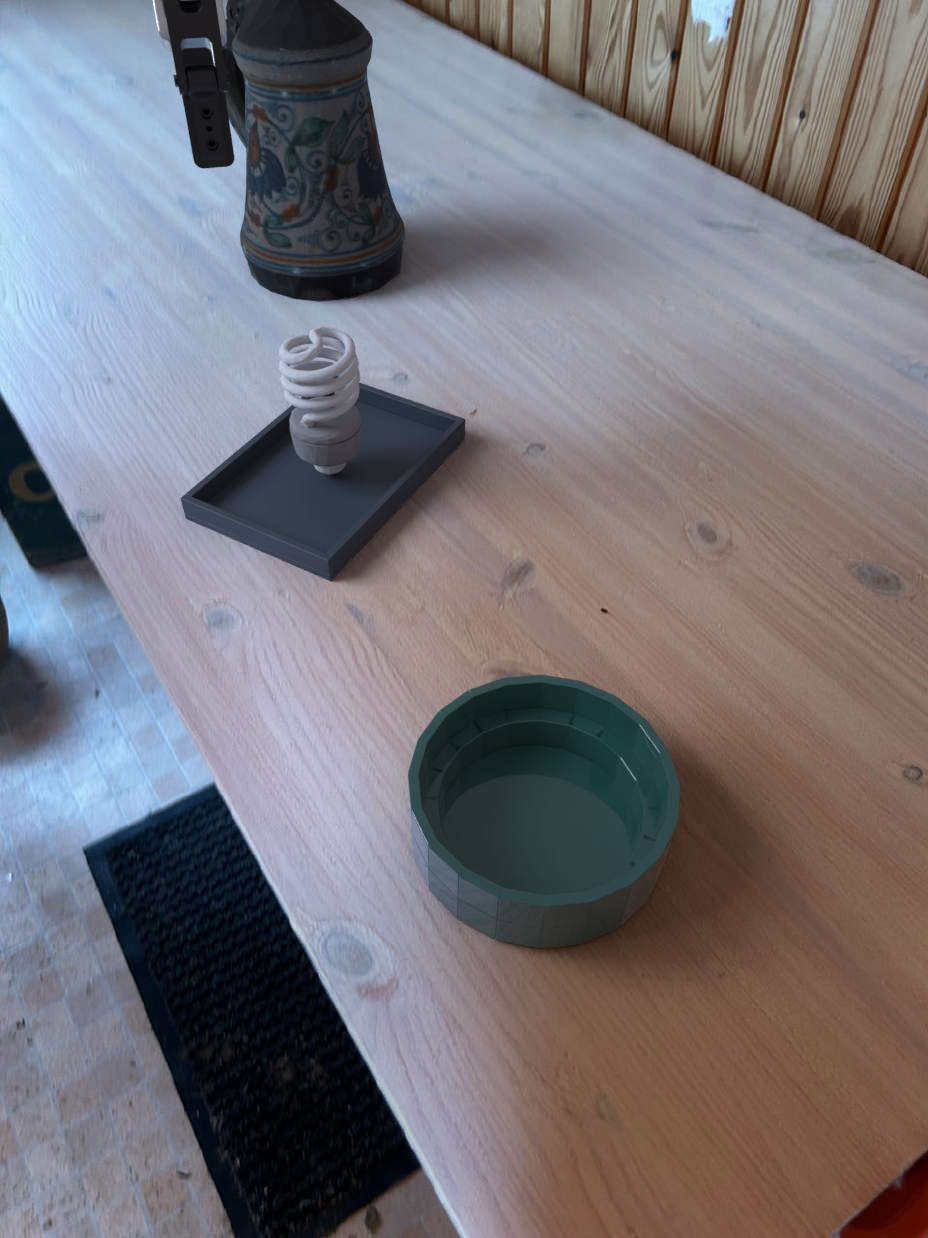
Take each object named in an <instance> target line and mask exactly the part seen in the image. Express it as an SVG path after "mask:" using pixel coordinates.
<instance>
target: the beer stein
mask: <svg viewBox="0 0 928 1238" xmlns="http://www.w3.org/2000/svg"><path fill="white" fill-rule="evenodd" d="M225 14H226V15H225V16H226V18H225V20H226V26H227V43H226V44H225V45H224V46H223V47H222V48H223V54H224V61H225V68H226V72H227V71H229V77H230V83H229V84H228V90H229V91H227V92H225V96H226V103H227V110H228V117H229V123H230V124H231V125H230V126H231V127H232V128H233V130H234V132H235V133H236V135H237V136H238V138H239V140H240V142H241V143H242V145H243V147H244V149H245V155H246V157H245V161H246V162H245V196H244V197H245V198H244V201H245V202H244V211H243V219H242V222H241V227H240V231H239V243H240V247H241V250H242V253H243V255H244V257H245V259H246V262H247V265H248V269H249V272H250V275H251V276H252V278H253V279H254V280H255V281H256V282H257V284H259V285H260V286H261V287H263V288H264V289H265V290H268V291H269V292H272V293H275V294H278V295H281V296H284V297H287V298H291V299H297V300H303V301H313V302H323V301H333V300H343V299H351V298H355V297H357V296H360V295H364V294H366V293H367V294H368V293H370V292H372V291H376V290H379V289H381V288H382V287H383V286H385V285H386V284H387V283H389V282H390V281H392V280H393V279H394V278H396V276H398V275H399V274H400V273H401V271H402V270H401V269H402V257H403V248H404V240H405V238H406V228H405V224H404V220H403V218H402V216H401V214H400V213H399V211H398V210H397V207H396V205H395V202H394V199H393V196H392V193H391V188H390V185H389V181H388V177H387V173H386V170H385V169H386V168H385V164H384V159H383V155H382V150H381V144H380V140H379V134H378V129H377V128H378V127H377V123H376V119H375V113H374V107H373V103H372V96H371V91H370V86H369V79H368V66H369V65H370V62H371V59H372V54H373V53H372V52H373V45H374V44H373V43H374V40H373V36H372V34H371V32H370V31H369V29H367V28H366V26H365V25H364V23H363V22H362V21H361V20H360V19H359V18H357V17H356V16H355V15H354V14H353V13H351V12H350V11H349V10H348V9H347V8H345V7H344V6H343V5H341V4H340V3H339V2H338V1H336V0H227V1H226V6H225Z"/></svg>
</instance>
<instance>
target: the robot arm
mask: <svg viewBox="0 0 928 1238" xmlns="http://www.w3.org/2000/svg"><path fill="white" fill-rule="evenodd" d="M223 2H224V1H223V0H152V4H153V10H154V14H155V15H154V16H155V21H156V27H157V31H158V32H157V33H158V35H159V41H160V44H161V46H162V47H163V48H164V49H165V50H167V51H169V52H170V53H171V54H172V59H173V63H174V69H175V70H174V71H175V74H173V81H174V87H175V89H176V88H178V92H179V96H181V98H182V104H183V108H184V114H185V120H186V126H187V131H188V137H189V142H190V148H191V155H192V159H193V162H194V164H195V166H196V167H197V168H200V169H217V168H229V167H230V166H232V165H233V164H234V162H235V151H234V145H233V137H232V131H231V125H230V124H231V123H230V121H229V117H228V110H227V103H226V96H225V92H227V91H229V90H228V84H229V83H230V77H229V71H227V72H226V68H225V61H224V54H223V48H222V47H223V46H224V45H225V44H226V43H227V26H226V20H225V19H226V15H225V14H226V13H225V9H224V3H223Z"/></svg>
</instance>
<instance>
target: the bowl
mask: <svg viewBox="0 0 928 1238" xmlns="http://www.w3.org/2000/svg"><path fill="white" fill-rule="evenodd" d="M407 788H408V805H409V807H408V808H409V823H410V834H411V847H412V854H413V858H414V860H415V863H416V865H417V867H418V869H419V871H420V873H421V875H422V878H423V880H424V882H425V884H426V886H427V888H428V890H429V891H430V893H432V895H434V896H435V897H436V899H437V900H438V901H439V902H440V903H441V904H442V905H443V907H445V908H446V909H447V910H448V911H449V912H450V913H451V914H452V915H453V917H455V918H456V920H459V921H460V922H462V923H464V924H466V925H468V926H470V927H471V928H473V929H475V930H476V931H479V932H481V933H482V934H484V935H486V936H488V937H489V938H491V939H493V940H496V941H499V942H505V943H509V944H514V945H519V946H525V947H529V948H534V949H547V948H559V947H565V946H566V947H567V946H575V945H576V946H577V945H583V944H585V943H587V942H590V941H592V940H594V939H596V938H599V937H601V936H603V935H605V934H607V933H610V932H612V931H614V930H616V929H619V928H620V927H621V926H623V924H625V923H626V922H627V921H628V920H629V919H630V918H631V917H632V916H633V915H634V914H635V913H636V912H637V911H638V910H639V909H641V907H642V906H644V904H645V903H646V902H647V901H648V900H649V898H650V896H651V895H652V892H653V889H654V887H655V885H656V884H657V882H658V879H659V878H660V875H661V872H662V871H663V868H664V865H665V862H666V859H667V857H668V854H669V850H670V848H671V845H672V842H673V839H674V837H675V834H676V830H677V828H678V823H679V815H680V814H679V813H680V799H681V784H680V780H679V777H678V774H677V771H676V767H675V764H674V761H673V757H672V755H671V752H670V749H669V748H668V747H667V745H666V744H665V742H664V741H663V739H662V738H661V737H660V735H659V734H658V733H657V731H656V730H655V729H654V727H653V726H652V724H651V723H650V722H649V721H648V720H647V718H645V717H644V716H643V715H642V714H640V713H639V712H638V711H636V710H635V709H634V708H633V707H631V706H630V705H629V704H628V703H626V702H625V701H624V700H622V699H621V698H620V697H618V696H617V695H616V694H613V693H610V692H608V691H606V690H603V689H601V688H599V687H596V686H594V685H591V684H590V683H587V682H585V681H582V680H578V679H572V678H565V677H559V676H553V675H547V674H534V675H533V674H532V675H531V674H530V675H519V676H506V677H501V678H498V679H495V680H493V681H490V682H487V683H484V684H482V685H478V686H475V687H473V688H469V689H468V690H466V691H465V692H463V693H461V695H459V696H458V697H456V698H455V699H453V700H452V701H450V702H449V703H448V704H446V705H445V706H444V707H442V708H441V709H440V710H438V711H437V713H436V714H435V715H434V716H433V718H432V719H431V721H430V722H429V724H428V725H427V726H426V727H425V729H424V730H423V732H422V733H421V734H420V735H419V737H418V739H417V740H416V743H415V747H414V750H413V753H412V757H411V761H410V764H409V767H408V771H407Z"/></svg>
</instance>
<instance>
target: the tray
mask: <svg viewBox="0 0 928 1238" xmlns="http://www.w3.org/2000/svg"><path fill="white" fill-rule="evenodd" d="M332 378H334V379H336V378H338V376H334V377H332ZM345 387H346V386H345ZM345 387H344V388H345ZM344 388H343V389H344ZM359 390H360V391H359V396H358V399H357V400H356V402H355V404H354V405H355V407H356V408H357V409H358V410H359V413H360V416H361V424H362V431H361V447H360V449H359V452H358V453H357V454H356V455H355V456H354V457H353V458H352V459H351V460H349V461H347V462H346V466H345V467H344V468H343V469H342V470H341V471H340V472H338V473H336V474H331V475H327V474H324V473H321V472H319V471H318V470H316V469H315V467H314V465H312V464H309V463H307V462H306V461H304V460H302V459H301V458H300V457H299V456H298V455H297V453H296V451H295V448H294V444H293V441H292V437H291V433H290V427H289V425H290V422H289V419H290V416H291V413H292V411H293V410H294V409H295V408H296V407H294V406H293V405H291V404H290V406H289V407H287V408H286V409H285V410H284V411H283V412H281V414H279V415H278V416H277V417H276V418H274V419H273V420H272V421H271V422H270V423H268V424H267V425H266V426H265V427H264V428H262V429H261V430H260V431H259V432H257V434H255V435H254V436H253V437H251V438H250V439H249V440H248V441H246V442H245V444H243V445H242V446H241V447H239V449H237V450H236V451H235V452H234V453H233V454H231V455H230V456H229V457H228V458H227V459H225V460H224V461H223V462H222V463H220V464H219V465H217V467H215V468H214V469H213V470H212V471H211V472H210V473H208V474H207V475H206V476H205V477H204V478H203V479H201V480H200V481H199V482H198V483H196V484H195V485H194V486H193V487H192V488H190V489H189V490H188V491H187V492H186V493H184V494H183V495H182V496H181V497H180V503H181V507H182V509H183V513H184V518H185V519H186V520H189V521H190V522H193V523H196V524H198V525H199V526H202V527H204V528H207V529H209V530H211V531H214V532H216V533H218V534H220V535H223V536H225V537H228V538H230V539H232V540H234V541H236V542H239V543H240V544H244V545H246V546H249V547H251V548H253V549H256V550H258V551H260V552H262V553H264V554H267V555H270V556H272V557H274V558H276V559H279V560H280V561H283V562H285V563H288V564H290V565H293V566H295V567H297V568H300V569H301V570H304V571H306V572H309V573H311V574H313V575H316V576H317V577H321V578H323V579H325V580H327V581H330V582H331V581H333V579H335V577H336V576H337V575H338V574H339V573H340V572H341V571H342V570H343V569H344V568H345V567H346V566H347V565H348V564H349V563H350V562H351V561H352V559H353V558H355V556H356V555H357V554H358V553H359V552H360V551H361V550H362V549H363V548H364V547H365V546H366V544H368V542H370V541H371V539H372V538H373V537H374V536H375V535H376V534H377V533H378V532H379V531H380V530H381V529H382V528H383V527H384V526H385V525H386V523H388V522H389V520H390V519H392V517H394V515H395V514H396V513H397V512H398V511H399V510H400V509H401V508H402V507H403V505H404V504H405V503H406V502H407V501H409V500H410V498H411V497H413V495H414V494H415V493H416V492H417V490H419V489H420V488H421V486H423V484H424V483H426V481H427V480H429V478H430V477H431V476H432V475H433V474H434V473H435V472H436V471H437V470H438V468H440V466H442V465H443V464H444V462H446V460H447V459H448V458H449V457H450V456H451V455H452V454H453V453H454V451H455V450H456V449H458V447H459V446H461V444H462V443H463V442H464V441H465V440H466V418H463V417H461V416H457V415H455V414H453V413H452V414H451V413H449V412H446V411H443V410H440V409H437V408H434V407H431V406H429V405H426V404H423V403H421V402H417V401H415V400H411V399H409V398H405V397H402V396H400V395H397V394H394V393H391V392H388V391H385V390H383V389H380V388H376V387H374V386H370V385H368V384H365V383H362V382H359ZM334 394H335V393H334V392H333V393H331V394H328V395H323V396H332V395H334ZM318 397H321V396H318ZM300 398H301V399H307V400H309V399H311V398H316V397H302V396H300Z"/></svg>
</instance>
